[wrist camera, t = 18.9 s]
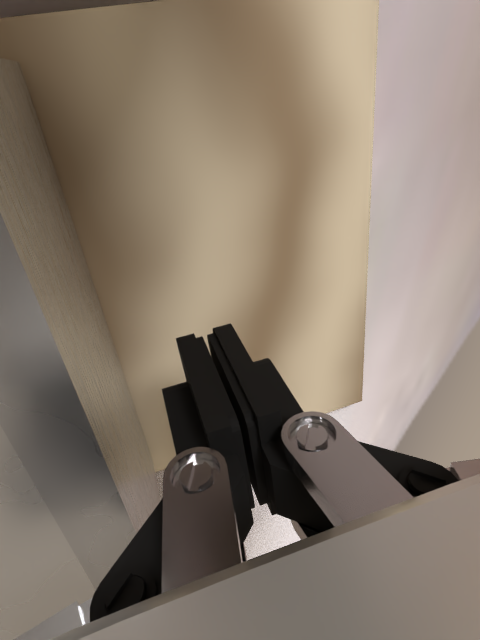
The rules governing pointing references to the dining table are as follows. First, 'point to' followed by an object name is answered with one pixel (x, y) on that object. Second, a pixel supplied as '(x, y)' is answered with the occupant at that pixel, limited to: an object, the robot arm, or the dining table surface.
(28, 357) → the cover
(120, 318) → the housing base
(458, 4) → the dining table surface
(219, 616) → the robot arm
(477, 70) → the dining table surface
